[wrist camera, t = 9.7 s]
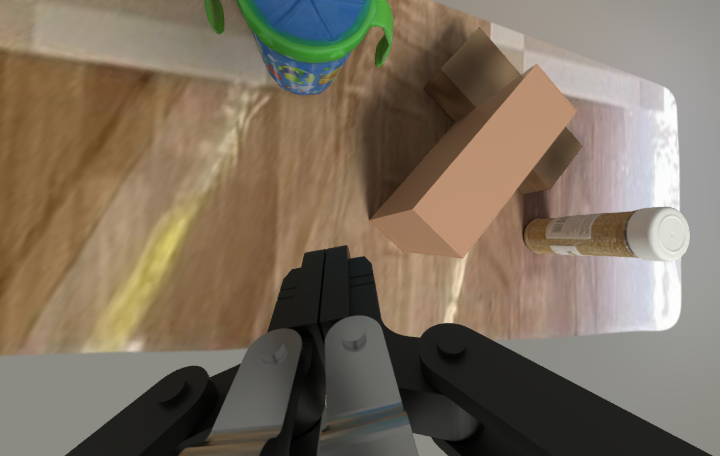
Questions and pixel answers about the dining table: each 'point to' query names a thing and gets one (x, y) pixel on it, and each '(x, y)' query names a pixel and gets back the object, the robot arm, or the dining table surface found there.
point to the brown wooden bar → (477, 84)
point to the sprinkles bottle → (613, 234)
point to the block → (475, 168)
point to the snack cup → (309, 36)
